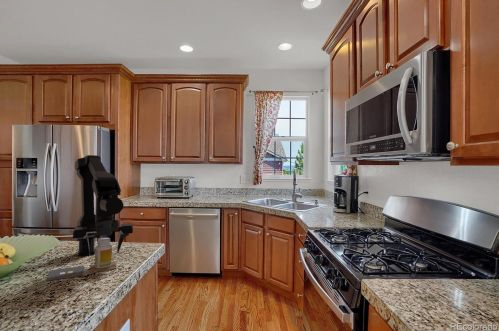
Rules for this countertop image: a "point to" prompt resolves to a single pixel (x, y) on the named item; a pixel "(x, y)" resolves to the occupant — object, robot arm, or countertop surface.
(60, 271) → the mat
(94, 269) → the walnut coaster
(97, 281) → the countertop surface
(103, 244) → the supplement bottle
